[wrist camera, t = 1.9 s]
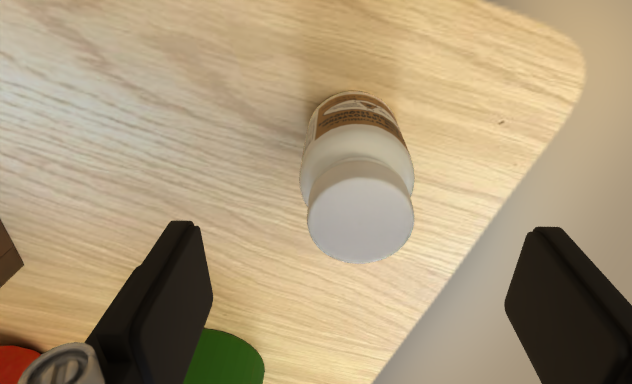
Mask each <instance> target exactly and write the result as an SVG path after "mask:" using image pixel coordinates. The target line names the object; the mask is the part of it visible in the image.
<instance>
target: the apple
mask: <svg viewBox="0 0 632 384" xmlns="http://www.w3.org/2000/svg"><path fill="white" fill-rule="evenodd" d="M41 355H42V354H40V353H38V352H36V351H35V350H31V349H26V348H22V347H18V346H0V384H17V383H18V381H19V379H20V377H21V375H22V373H23V372H24V371H25V369H26V368H27V367H28V366H29V365H30V364H31V363H32V362H33V361H34V360H35V359H37V358H38V357H39V356H41Z"/></svg>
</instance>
